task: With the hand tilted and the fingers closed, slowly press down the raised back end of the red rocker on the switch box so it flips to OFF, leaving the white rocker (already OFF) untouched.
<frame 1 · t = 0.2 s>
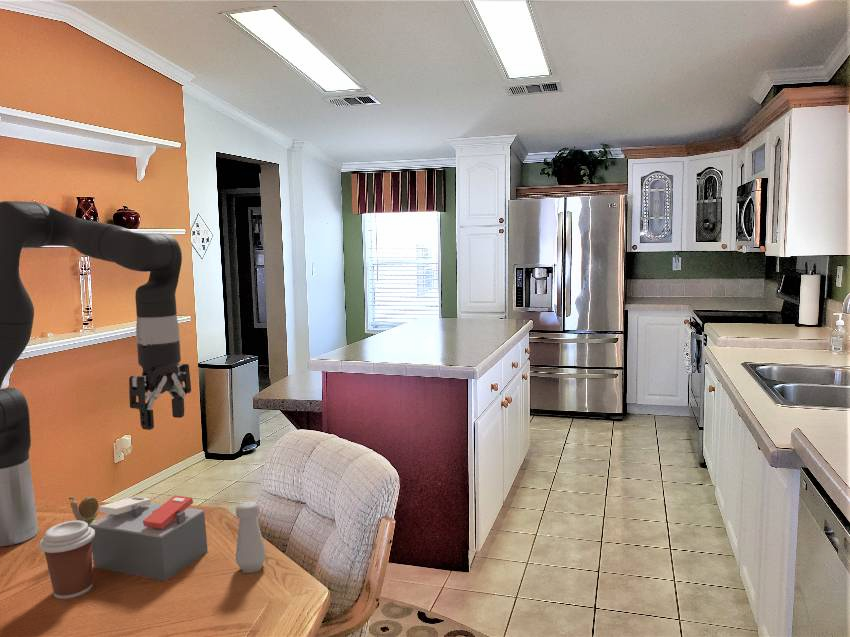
hand: (163, 423, 125), 29 cm above the table, tool pointing down, fingers open, 8 cm apart
switch box: (151, 559, 132), on the table
white rocker: (125, 505, 133), point 11 cm above the table, hinge at -10.0°
red rocker: (168, 511, 129), point 11 cm above the table, hinge at 10.0°
snail figurine: (89, 546, 140), on the table
coffee cup: (73, 590, 122), on the table
salt shaker: (251, 568, 127), on the table
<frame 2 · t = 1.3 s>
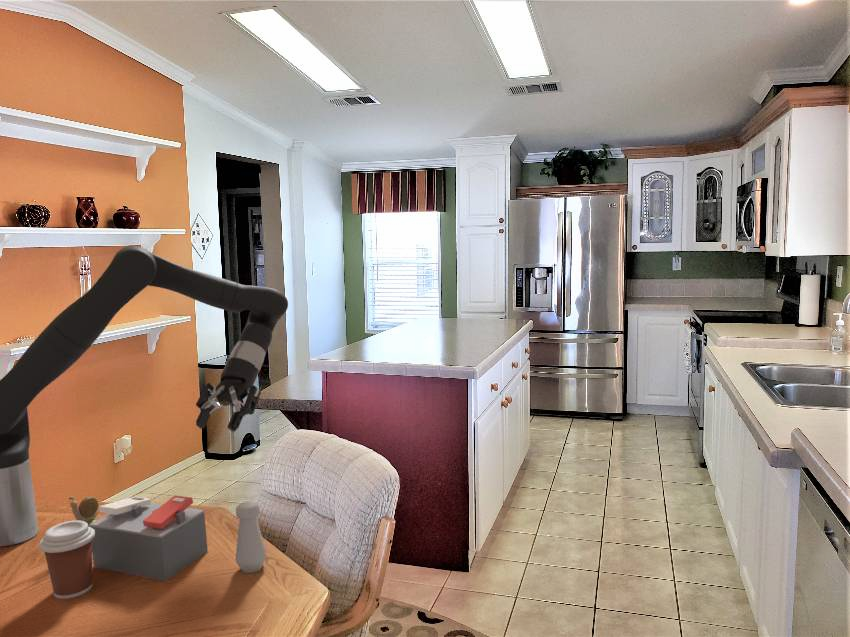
hand: (215, 428, 141), 23 cm above the table, tool tilted 45°, fingers open, 8 cm apart
nothing on the table moved.
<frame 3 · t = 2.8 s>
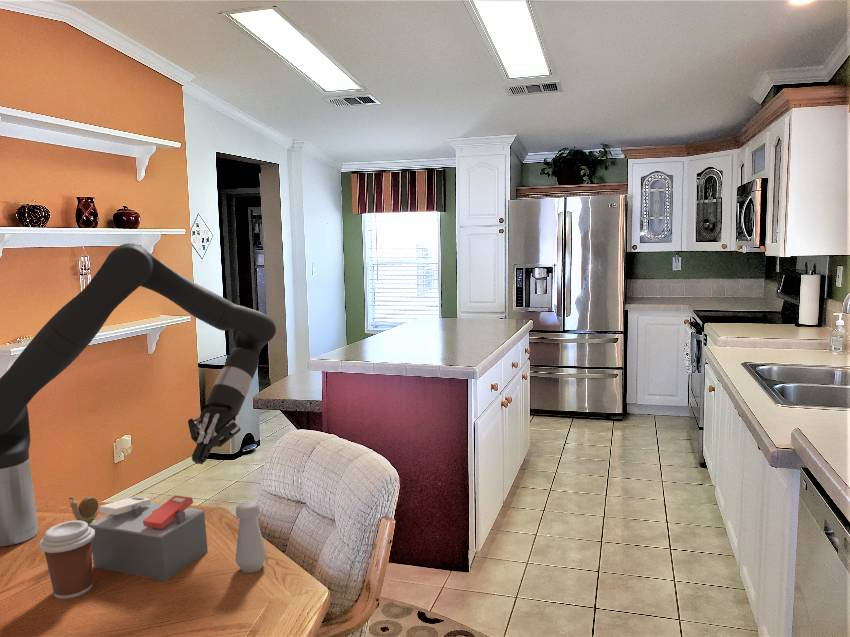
hand: (197, 462, 137), 18 cm above the table, tool tilted 45°, fingers closed
nothing on the table moved.
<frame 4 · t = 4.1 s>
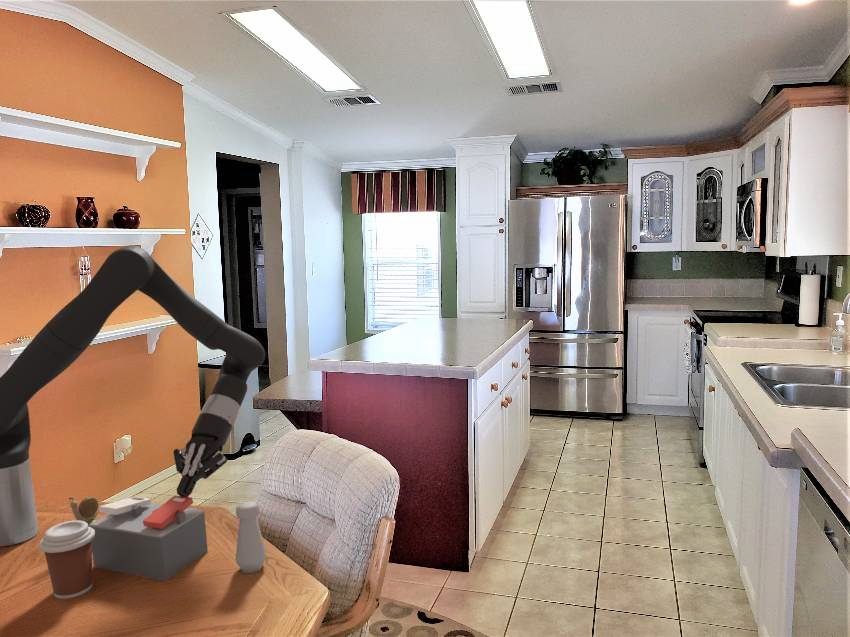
hand: (182, 495, 132), 13 cm above the table, tool tilted 45°, fingers closed
red rocker: (168, 511, 129), point 11 cm above the table, hinge at 9.9°, touching gripper
everything else where it was.
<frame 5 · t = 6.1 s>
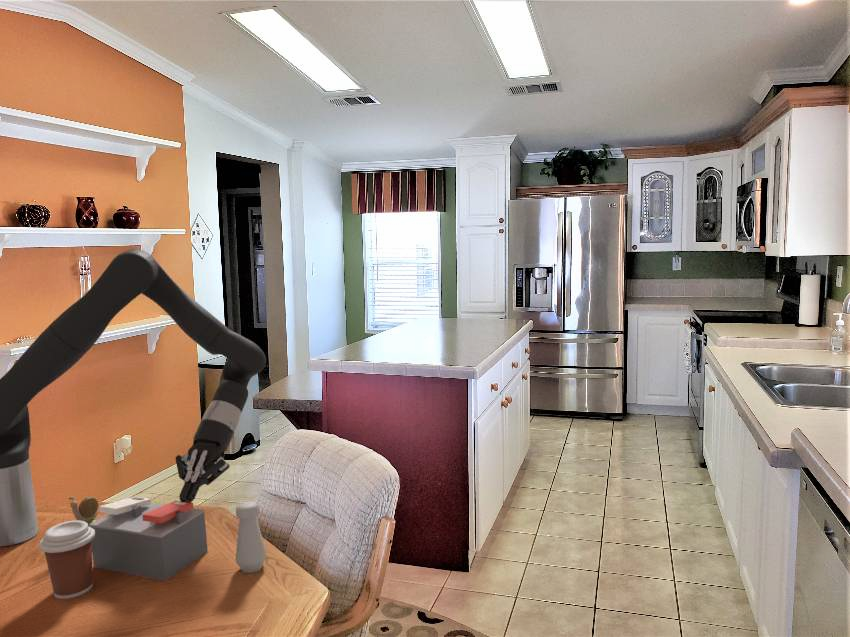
hand: (184, 501, 133), 11 cm above the table, tool tilted 45°, fingers closed
red rocker: (168, 511, 129), point 11 cm above the table, hinge at -5.5°, touching gripper
everything else where it was.
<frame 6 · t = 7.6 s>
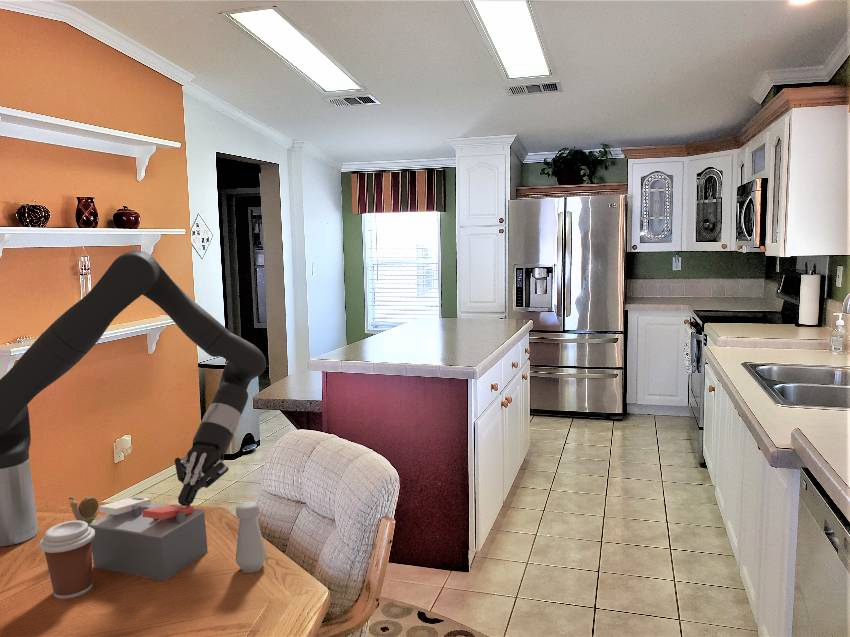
hand: (183, 504, 133), 11 cm above the table, tool tilted 45°, fingers closed
red rocker: (168, 511, 129), point 11 cm above the table, hinge at -15.6°
everything else where it was.
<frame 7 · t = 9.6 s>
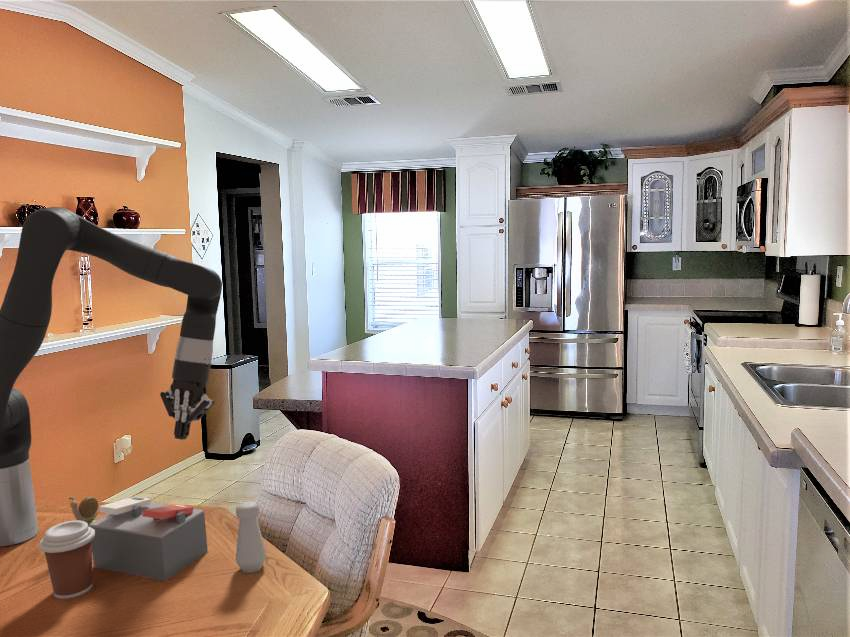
hand: (180, 438, 141), 21 cm above the table, tool pointing down, fingers closed
red rocker: (168, 511, 129), point 11 cm above the table, hinge at -16.4°, touching switch box
everything else where it was.
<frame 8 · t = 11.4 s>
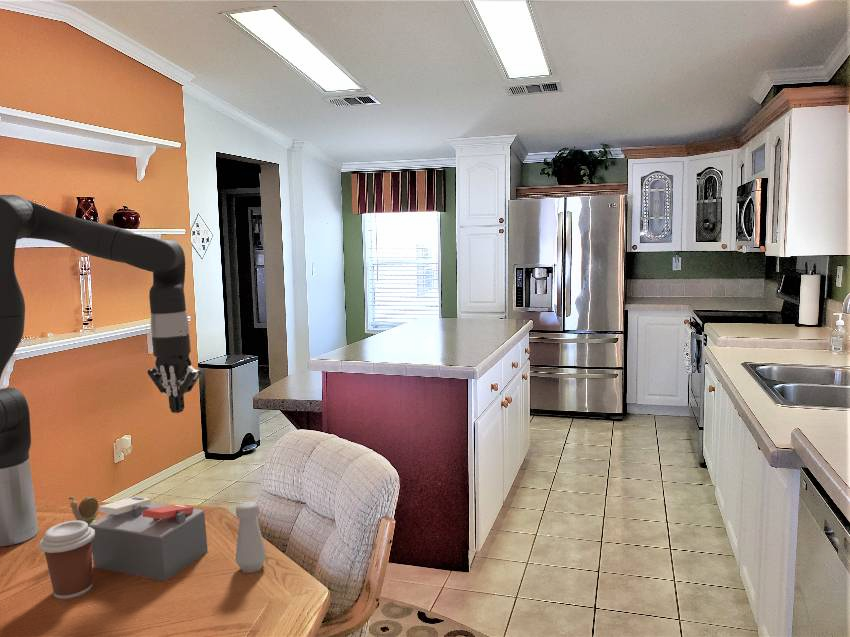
hand: (177, 412, 142), 27 cm above the table, tool pointing down, fingers closed
nothing on the table moved.
at the end: red rocker at -16° (first picture: +10°); white rocker at -10° (first picture: -10°) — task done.
